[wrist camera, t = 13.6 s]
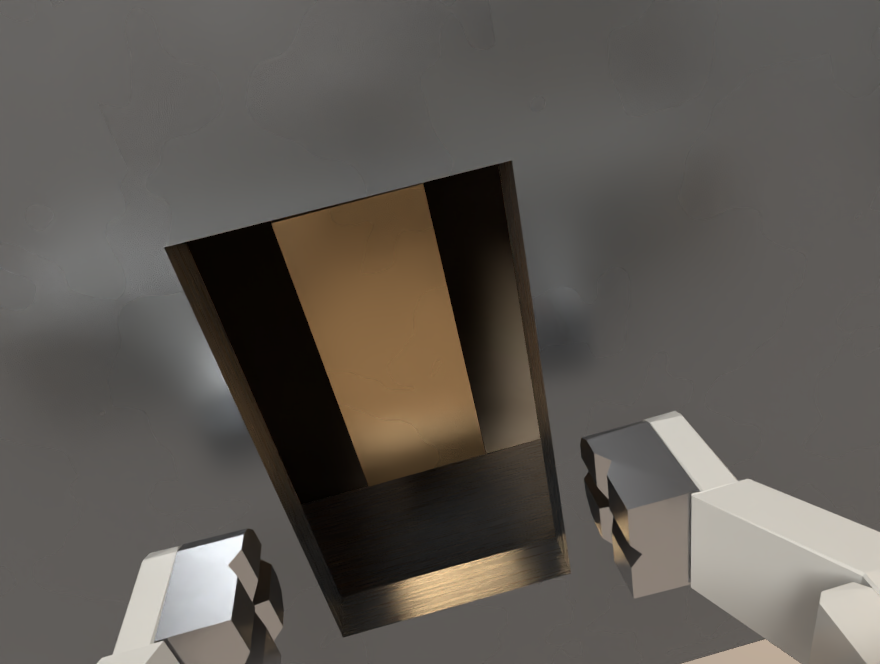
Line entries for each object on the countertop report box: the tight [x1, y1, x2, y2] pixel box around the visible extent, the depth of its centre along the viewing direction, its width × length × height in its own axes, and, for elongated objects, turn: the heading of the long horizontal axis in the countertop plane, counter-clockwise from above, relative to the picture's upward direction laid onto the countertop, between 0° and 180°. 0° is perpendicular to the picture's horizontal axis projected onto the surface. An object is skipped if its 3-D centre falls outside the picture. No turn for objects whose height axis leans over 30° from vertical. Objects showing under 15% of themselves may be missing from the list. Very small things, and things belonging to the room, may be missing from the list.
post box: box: [0, 0, 880, 664], centre depth 14 cm, size 20×18×8 cm
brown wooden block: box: [271, 183, 486, 486], centre depth 16 cm, size 3×7×5 cm, turn 13°
